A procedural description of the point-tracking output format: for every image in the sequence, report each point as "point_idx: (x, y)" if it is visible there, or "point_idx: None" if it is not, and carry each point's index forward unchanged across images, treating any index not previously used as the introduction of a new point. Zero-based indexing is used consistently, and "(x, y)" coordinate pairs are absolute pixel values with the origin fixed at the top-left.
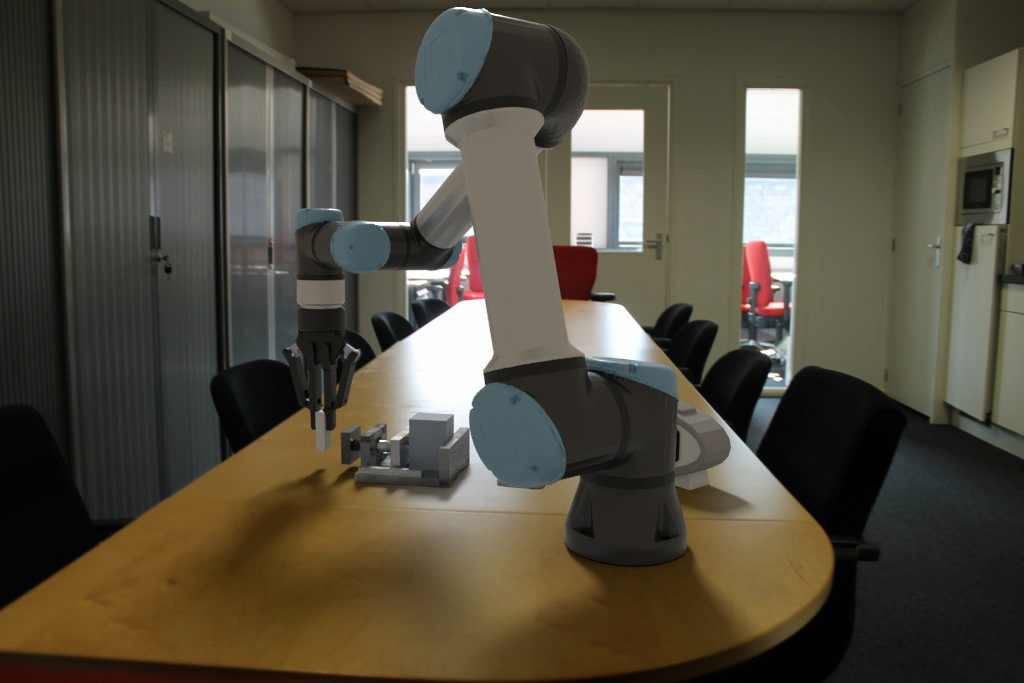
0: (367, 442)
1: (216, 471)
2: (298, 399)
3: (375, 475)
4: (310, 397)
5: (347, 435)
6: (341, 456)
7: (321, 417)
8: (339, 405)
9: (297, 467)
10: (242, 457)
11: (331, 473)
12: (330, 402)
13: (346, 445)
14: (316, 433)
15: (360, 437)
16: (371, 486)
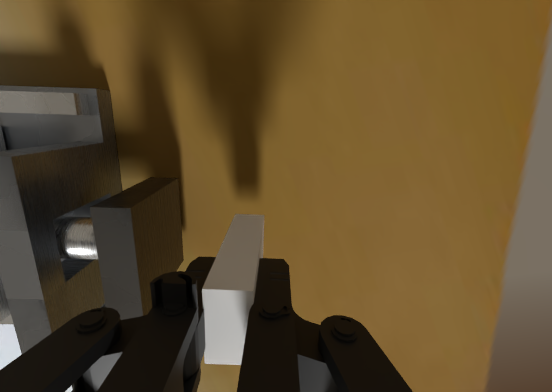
0: (4, 151)
1: (531, 125)
2: (375, 351)
3: (30, 87)
4: (284, 364)
5: (107, 204)
6: (168, 183)
7: (224, 275)
8: (81, 317)
9: (319, 198)
10: (493, 261)
11: (207, 159)
12: (137, 335)
13: (132, 192)
14: (258, 239)
15: (16, 155)
16: (44, 54)
